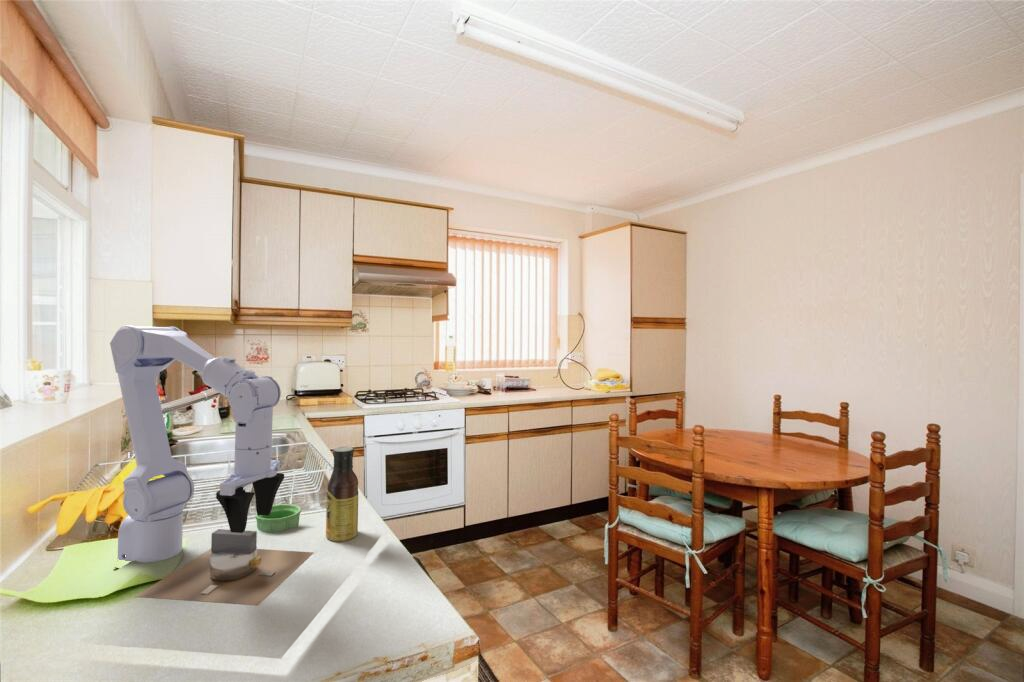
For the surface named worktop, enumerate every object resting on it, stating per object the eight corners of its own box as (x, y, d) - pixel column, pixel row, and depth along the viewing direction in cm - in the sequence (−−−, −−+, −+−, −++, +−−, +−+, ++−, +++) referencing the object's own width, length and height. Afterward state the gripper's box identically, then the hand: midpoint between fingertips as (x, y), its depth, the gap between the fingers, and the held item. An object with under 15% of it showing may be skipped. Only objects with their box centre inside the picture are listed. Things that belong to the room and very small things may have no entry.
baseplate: (135, 605, 75) (135, 595, 75) (214, 553, 93) (214, 545, 93) (257, 614, 74) (257, 603, 74) (313, 560, 92) (313, 551, 92)
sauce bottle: (330, 536, 103) (332, 444, 102) (360, 536, 103) (362, 444, 103) (321, 550, 96) (323, 451, 96) (353, 549, 97) (355, 451, 96)
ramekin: (304, 534, 104) (304, 514, 104) (257, 543, 98) (257, 522, 98) (296, 520, 111) (296, 501, 111) (252, 528, 106) (252, 508, 106)
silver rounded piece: (200, 579, 80) (200, 539, 80) (227, 559, 87) (228, 523, 87) (245, 582, 80) (246, 542, 80) (269, 562, 87) (270, 525, 87)
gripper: (250, 457, 77) (248, 541, 77) (296, 438, 91) (294, 509, 92) (208, 455, 77) (206, 539, 77) (260, 436, 92) (258, 507, 92)
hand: (251, 522), depth 84 cm, fingers open, 7 cm apart
